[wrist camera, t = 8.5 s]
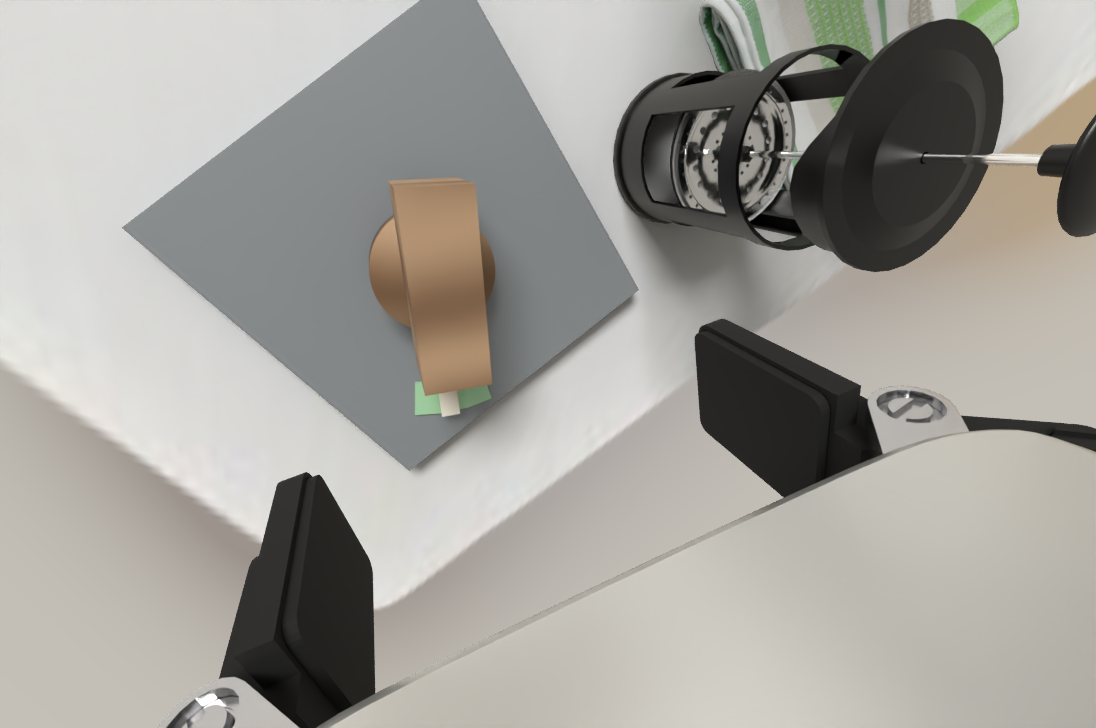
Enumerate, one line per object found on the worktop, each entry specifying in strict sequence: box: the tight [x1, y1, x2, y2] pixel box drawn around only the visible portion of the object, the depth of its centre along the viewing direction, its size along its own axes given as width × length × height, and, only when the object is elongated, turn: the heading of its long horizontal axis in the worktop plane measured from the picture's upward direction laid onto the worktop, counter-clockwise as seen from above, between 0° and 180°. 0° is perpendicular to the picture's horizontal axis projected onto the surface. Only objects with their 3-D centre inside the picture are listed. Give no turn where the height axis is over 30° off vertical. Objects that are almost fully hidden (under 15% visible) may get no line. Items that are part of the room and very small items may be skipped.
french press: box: [613, 18, 1096, 272], centre depth 23 cm, size 12×9×23 cm
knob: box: [369, 177, 495, 417], centre depth 27 cm, size 15×7×7 cm, turn 2°
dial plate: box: [122, 0, 639, 471], centre depth 30 cm, size 21×21×2 cm
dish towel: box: [700, 0, 1019, 190], centre depth 33 cm, size 17×23×4 cm
